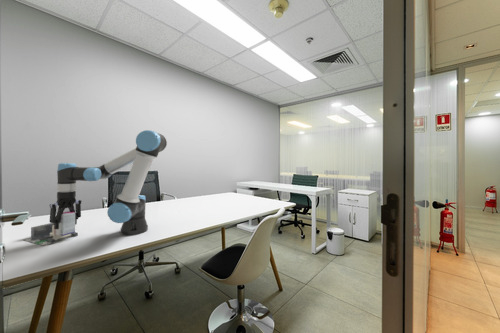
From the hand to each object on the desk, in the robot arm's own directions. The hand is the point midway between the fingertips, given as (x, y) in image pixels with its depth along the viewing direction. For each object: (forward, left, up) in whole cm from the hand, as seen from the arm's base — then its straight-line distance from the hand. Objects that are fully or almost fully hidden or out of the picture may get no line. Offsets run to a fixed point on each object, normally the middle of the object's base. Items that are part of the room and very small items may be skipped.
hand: (65, 232), depth 109 cm
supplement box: (0, 0, -1) cm, 1 cm away
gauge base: (+10, +1, -4) cm, 11 cm away
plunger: (+7, +2, -3) cm, 8 cm away
